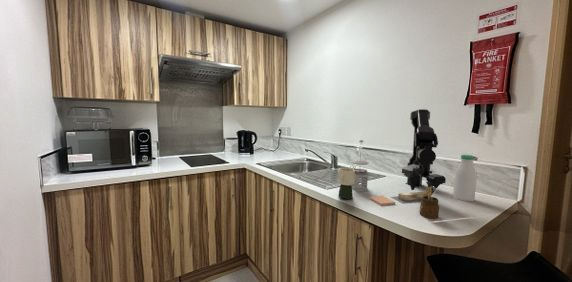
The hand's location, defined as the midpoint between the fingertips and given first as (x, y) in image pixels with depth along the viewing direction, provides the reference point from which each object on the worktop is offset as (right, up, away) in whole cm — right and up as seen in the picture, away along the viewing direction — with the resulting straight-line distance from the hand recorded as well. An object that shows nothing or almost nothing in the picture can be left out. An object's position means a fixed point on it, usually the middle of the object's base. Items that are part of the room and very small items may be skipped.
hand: (420, 193), depth 103 cm
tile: (-16, -2, -3) cm, 16 cm away
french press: (-24, -1, +13) cm, 27 cm away
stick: (-3, -2, -1) cm, 4 cm away
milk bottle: (+20, -3, +1) cm, 20 cm away
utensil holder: (-8, -5, -18) cm, 20 cm away
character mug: (-33, -2, 0) cm, 34 cm away
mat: (-3, -3, -1) cm, 4 cm away
